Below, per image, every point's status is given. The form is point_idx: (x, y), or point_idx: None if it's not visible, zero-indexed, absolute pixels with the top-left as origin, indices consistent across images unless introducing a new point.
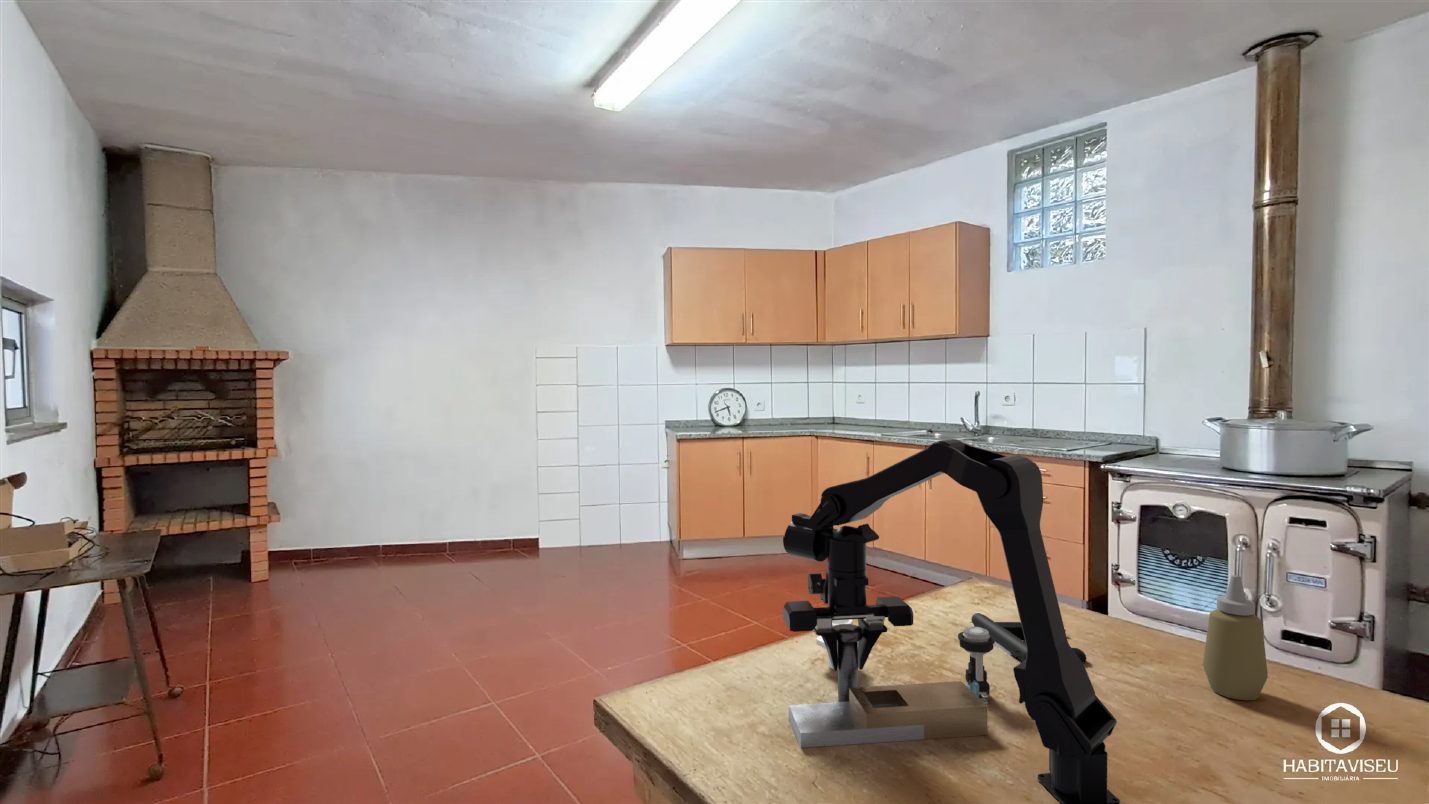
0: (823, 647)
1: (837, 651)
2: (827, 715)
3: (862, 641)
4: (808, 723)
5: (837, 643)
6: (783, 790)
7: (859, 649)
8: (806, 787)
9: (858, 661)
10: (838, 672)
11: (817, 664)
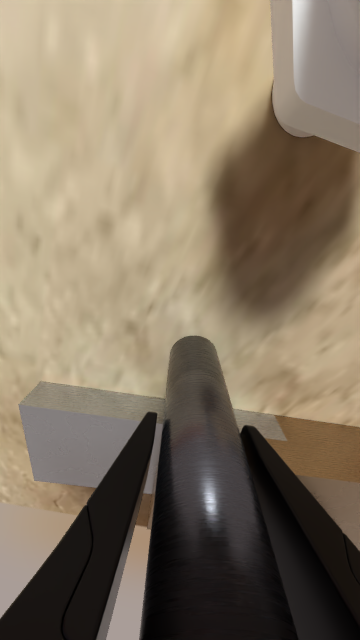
0: (273, 20)
1: (121, 577)
2: (97, 453)
3: (302, 637)
4: (53, 464)
5: (149, 572)
6: (17, 503)
7: (277, 522)
8: (45, 505)
9: (249, 454)
10: (163, 416)
11: (243, 15)
